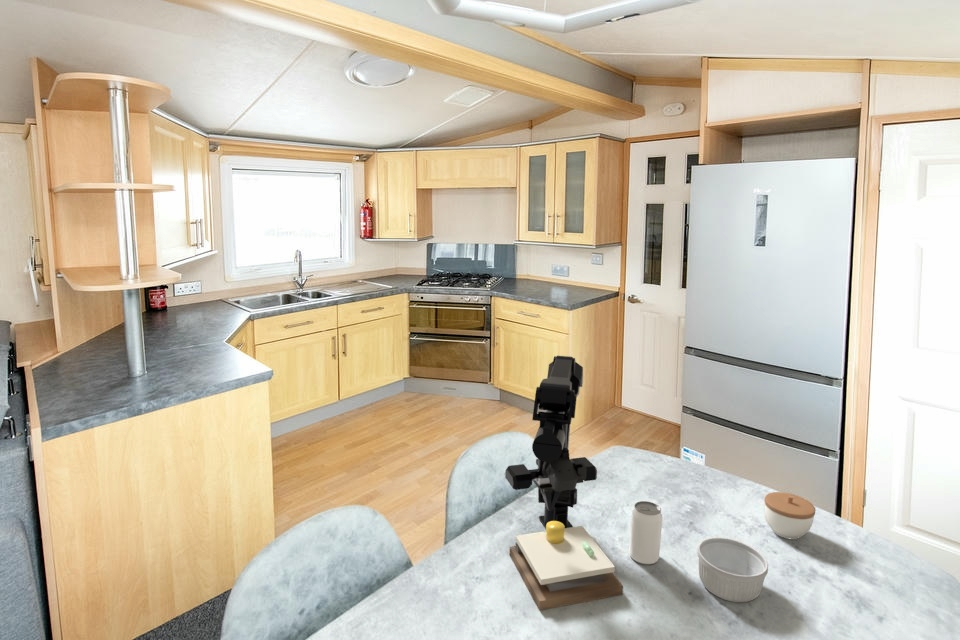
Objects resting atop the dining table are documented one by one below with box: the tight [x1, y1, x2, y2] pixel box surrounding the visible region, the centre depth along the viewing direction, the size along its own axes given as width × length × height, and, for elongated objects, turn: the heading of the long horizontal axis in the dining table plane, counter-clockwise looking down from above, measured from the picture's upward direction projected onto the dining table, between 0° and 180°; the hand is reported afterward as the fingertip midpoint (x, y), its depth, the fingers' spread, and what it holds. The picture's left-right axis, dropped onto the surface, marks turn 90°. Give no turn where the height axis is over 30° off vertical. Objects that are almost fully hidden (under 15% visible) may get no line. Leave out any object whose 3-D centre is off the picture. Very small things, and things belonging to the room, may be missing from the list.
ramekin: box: [696, 537, 769, 603], centre depth 115 cm, size 13×13×7 cm
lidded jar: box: [763, 491, 817, 540], centre depth 134 cm, size 11×11×9 cm
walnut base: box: [508, 541, 624, 611], centre depth 118 cm, size 18×18×4 cm
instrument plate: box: [515, 521, 616, 585], centre depth 118 cm, size 15×16×4 cm
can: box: [628, 500, 663, 566], centre depth 124 cm, size 6×6×12 cm
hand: (549, 509), depth 119 cm, fingers closed
